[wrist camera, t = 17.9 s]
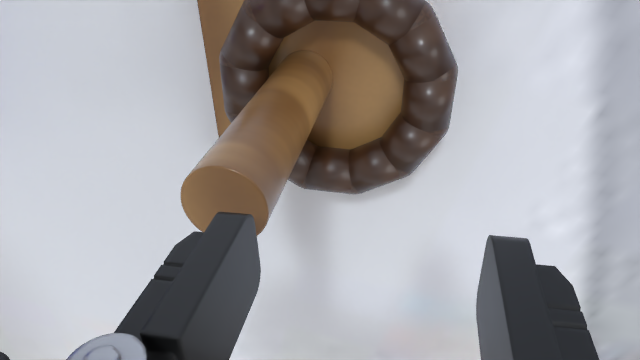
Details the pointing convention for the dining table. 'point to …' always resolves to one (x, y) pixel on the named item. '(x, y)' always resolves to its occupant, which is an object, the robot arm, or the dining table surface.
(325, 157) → the ring
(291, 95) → the post
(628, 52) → the dining table surface
